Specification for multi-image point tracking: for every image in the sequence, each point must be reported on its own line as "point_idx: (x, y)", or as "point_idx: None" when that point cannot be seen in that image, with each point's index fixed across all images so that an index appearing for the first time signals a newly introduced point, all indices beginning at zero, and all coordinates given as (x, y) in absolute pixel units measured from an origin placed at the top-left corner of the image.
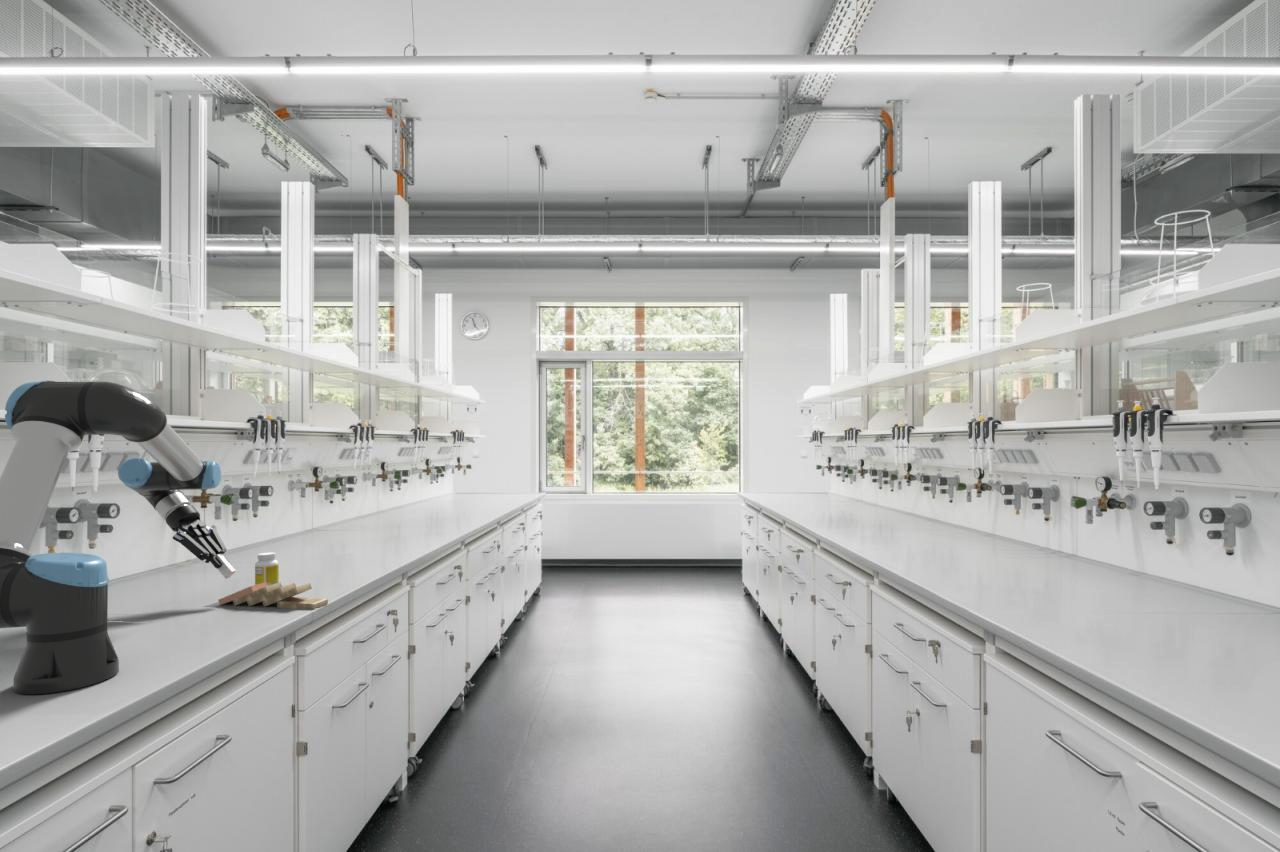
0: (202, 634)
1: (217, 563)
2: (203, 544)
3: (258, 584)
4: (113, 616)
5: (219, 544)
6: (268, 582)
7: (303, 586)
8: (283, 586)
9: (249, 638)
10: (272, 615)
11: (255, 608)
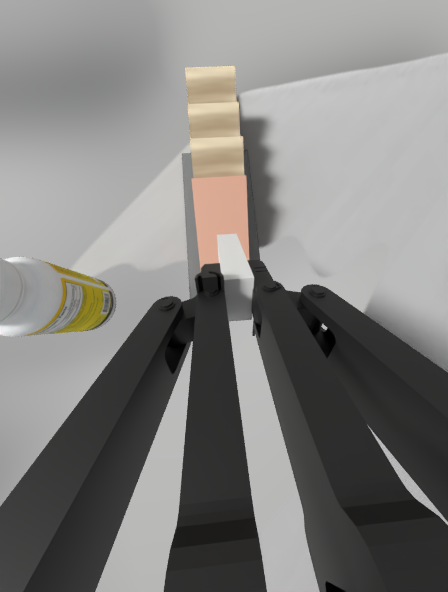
0: (401, 151)
1: (264, 266)
2: (326, 360)
3: (220, 177)
4: (380, 446)
5: (159, 351)
6: (92, 279)
7: (210, 69)
8: (228, 102)
9: (389, 74)
10: (275, 134)
11: (250, 190)
